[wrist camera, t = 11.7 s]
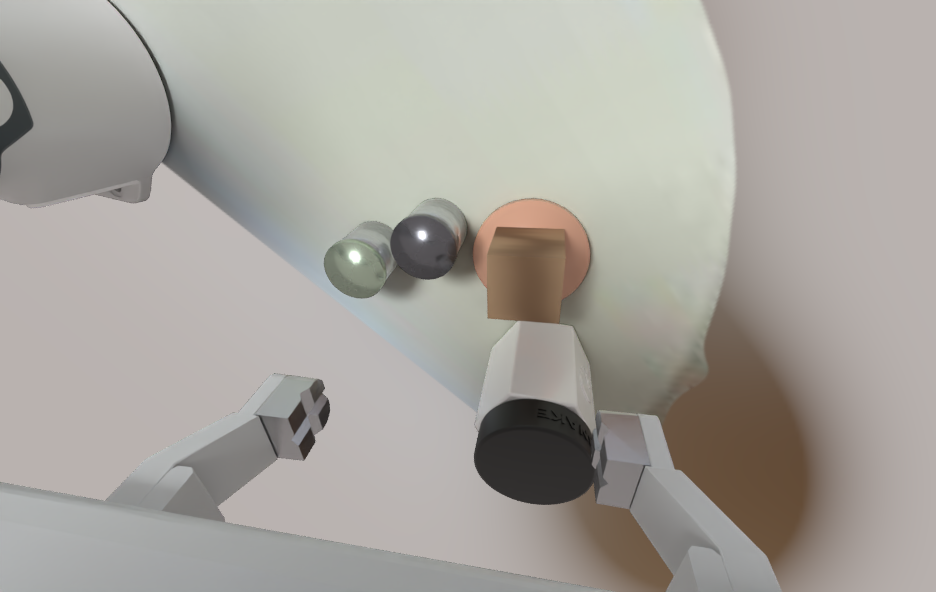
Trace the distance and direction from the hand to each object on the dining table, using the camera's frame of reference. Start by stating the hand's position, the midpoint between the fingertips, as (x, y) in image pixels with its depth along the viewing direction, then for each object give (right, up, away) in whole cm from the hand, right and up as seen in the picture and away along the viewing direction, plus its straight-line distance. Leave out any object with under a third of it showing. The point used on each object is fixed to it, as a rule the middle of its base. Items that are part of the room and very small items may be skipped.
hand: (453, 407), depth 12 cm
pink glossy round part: (+5, +7, +20) cm, 21 cm away
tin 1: (-7, +8, +22) cm, 25 cm away
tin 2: (-2, +9, +20) cm, 22 cm away
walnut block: (+5, +6, +19) cm, 21 cm away
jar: (+7, -2, +25) cm, 26 cm away
